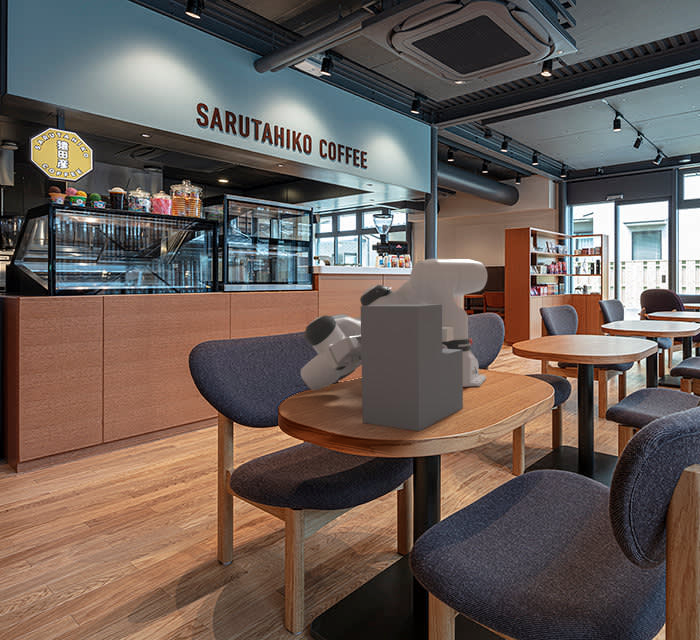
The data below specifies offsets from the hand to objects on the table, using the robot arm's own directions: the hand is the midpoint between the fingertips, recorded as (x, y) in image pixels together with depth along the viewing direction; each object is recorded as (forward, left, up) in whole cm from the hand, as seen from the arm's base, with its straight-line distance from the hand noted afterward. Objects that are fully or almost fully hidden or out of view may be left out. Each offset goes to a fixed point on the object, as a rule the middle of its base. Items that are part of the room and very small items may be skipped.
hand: (385, 330), depth 129 cm
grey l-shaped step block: (+6, +11, -19) cm, 23 cm away
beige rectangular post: (0, +7, -2) cm, 7 cm away
